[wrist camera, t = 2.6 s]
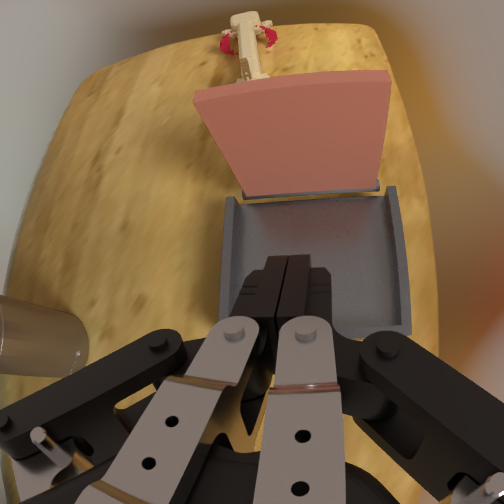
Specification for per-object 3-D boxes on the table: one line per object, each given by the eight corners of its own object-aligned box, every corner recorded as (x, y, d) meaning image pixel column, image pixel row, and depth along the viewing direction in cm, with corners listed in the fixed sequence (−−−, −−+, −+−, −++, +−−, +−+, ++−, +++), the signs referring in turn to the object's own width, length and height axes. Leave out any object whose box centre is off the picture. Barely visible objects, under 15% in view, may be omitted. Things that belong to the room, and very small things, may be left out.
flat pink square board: (378, 193, 30) (399, 81, 16) (244, 201, 33) (185, 104, 19) (376, 177, 30) (391, 64, 16) (245, 186, 33) (190, 86, 20)
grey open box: (399, 337, 28) (411, 334, 23) (234, 341, 32) (217, 338, 27) (388, 208, 32) (395, 186, 27) (239, 217, 36) (225, 197, 32)
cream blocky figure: (292, 103, 42) (272, 17, 48) (282, 61, 34) (262, -16, 40) (227, 116, 44) (224, 28, 50) (206, 78, 36) (210, -3, 42)
